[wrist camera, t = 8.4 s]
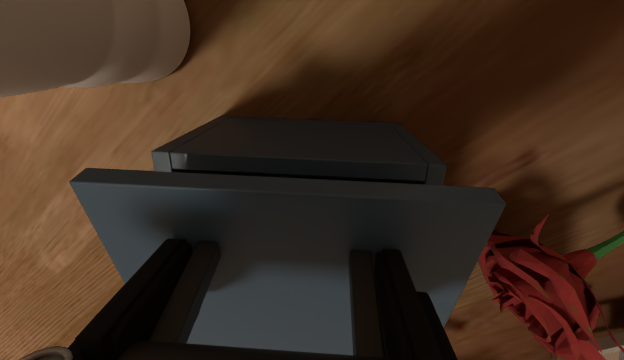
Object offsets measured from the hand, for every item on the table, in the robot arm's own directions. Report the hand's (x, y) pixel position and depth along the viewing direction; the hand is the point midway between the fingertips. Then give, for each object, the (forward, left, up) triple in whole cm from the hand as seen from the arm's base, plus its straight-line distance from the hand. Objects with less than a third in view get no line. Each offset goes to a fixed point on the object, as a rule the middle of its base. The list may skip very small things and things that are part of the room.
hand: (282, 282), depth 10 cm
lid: (+4, 0, -2) cm, 4 cm away
